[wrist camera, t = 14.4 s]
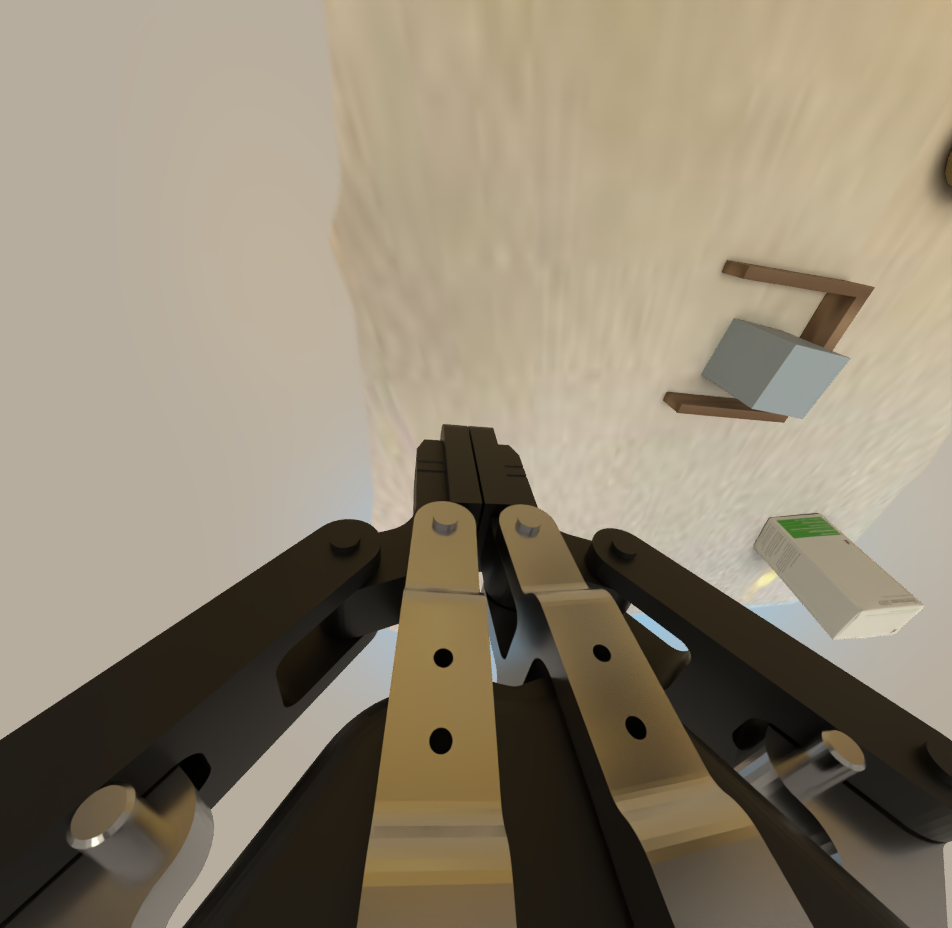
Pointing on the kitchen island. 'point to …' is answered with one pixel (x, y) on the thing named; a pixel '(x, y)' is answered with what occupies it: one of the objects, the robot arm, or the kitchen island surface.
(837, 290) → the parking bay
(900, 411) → the kitchen island surface
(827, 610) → the skincare box
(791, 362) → the slate block
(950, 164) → the squeeze bottle
